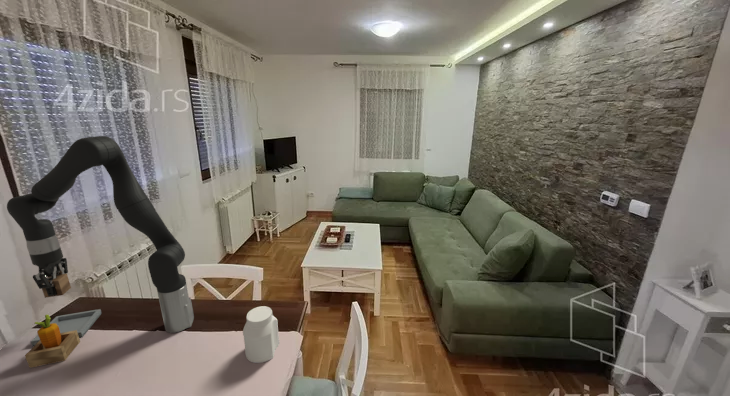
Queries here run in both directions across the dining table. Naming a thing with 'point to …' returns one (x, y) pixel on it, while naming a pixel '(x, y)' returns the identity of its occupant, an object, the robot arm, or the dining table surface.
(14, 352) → the dining table surface
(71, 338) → the wooden crate
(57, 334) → the carrot
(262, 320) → the jar
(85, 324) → the tray
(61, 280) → the walnut block
